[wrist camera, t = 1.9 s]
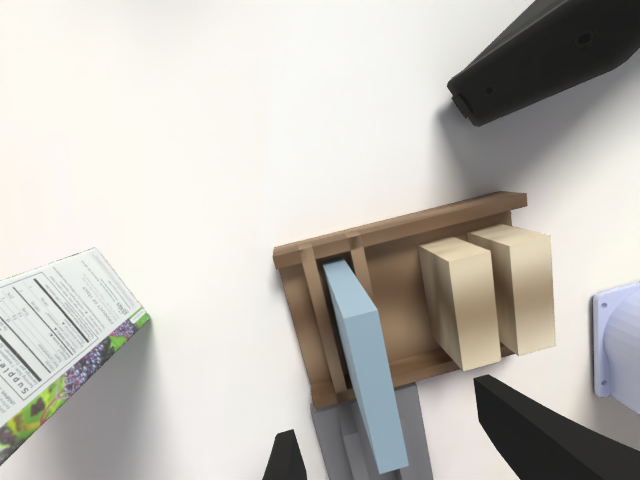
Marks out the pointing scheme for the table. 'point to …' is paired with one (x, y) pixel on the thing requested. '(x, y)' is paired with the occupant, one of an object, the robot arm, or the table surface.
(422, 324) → the rack
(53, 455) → the table surface
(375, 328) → the tall board
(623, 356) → the robot arm
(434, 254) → the offcut
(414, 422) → the holder
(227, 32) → the table surface
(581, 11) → the magazine
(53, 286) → the syrup box
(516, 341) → the offcut
